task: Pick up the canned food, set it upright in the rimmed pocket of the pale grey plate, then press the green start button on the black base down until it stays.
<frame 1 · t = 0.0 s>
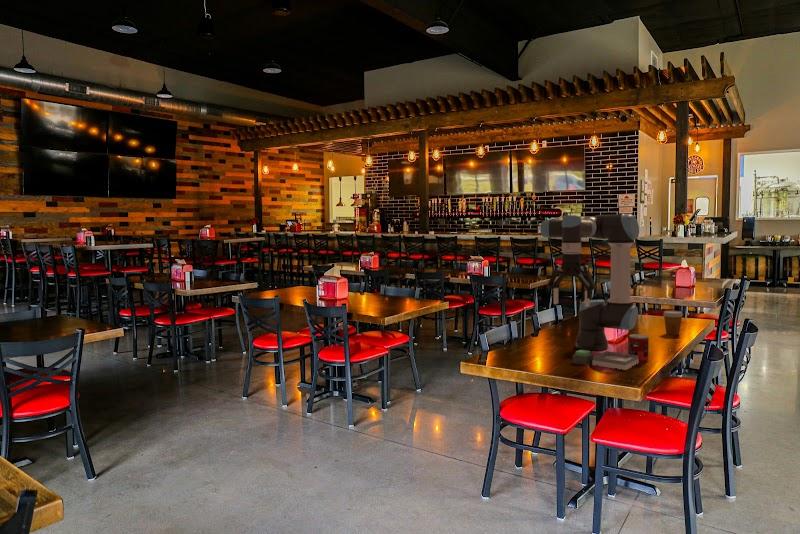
hand: (571, 305, 235), 28 cm above the table, tool pointing down, fingers open, 13 cm apart
button base: (583, 362, 253), on the table
disposable coffee cup: (672, 334, 310), on the table
pocket plate: (615, 364, 249), on the table
canned food: (638, 360, 255), on the table
start button: (583, 354, 253), point 3 cm above the table, slide at 0.0 cm
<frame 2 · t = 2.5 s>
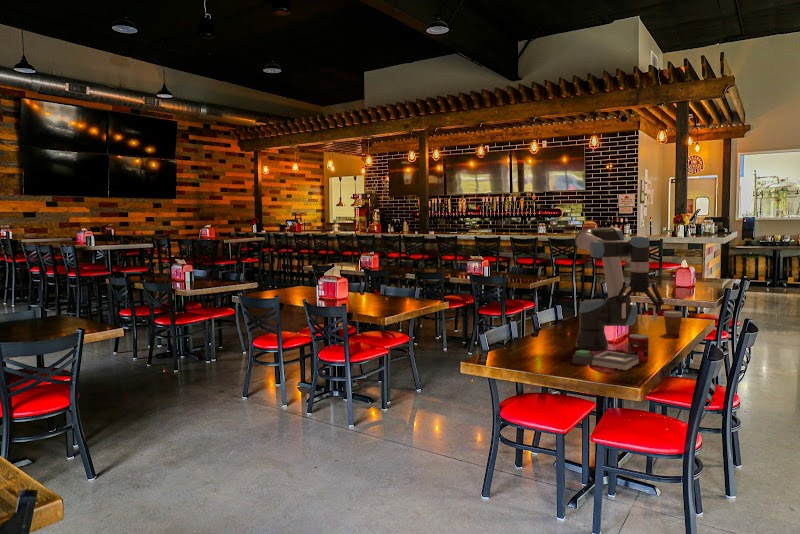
hand: (639, 319, 254), 18 cm above the table, tool pointing down, fingers open, 13 cm apart
nothing on the table moved.
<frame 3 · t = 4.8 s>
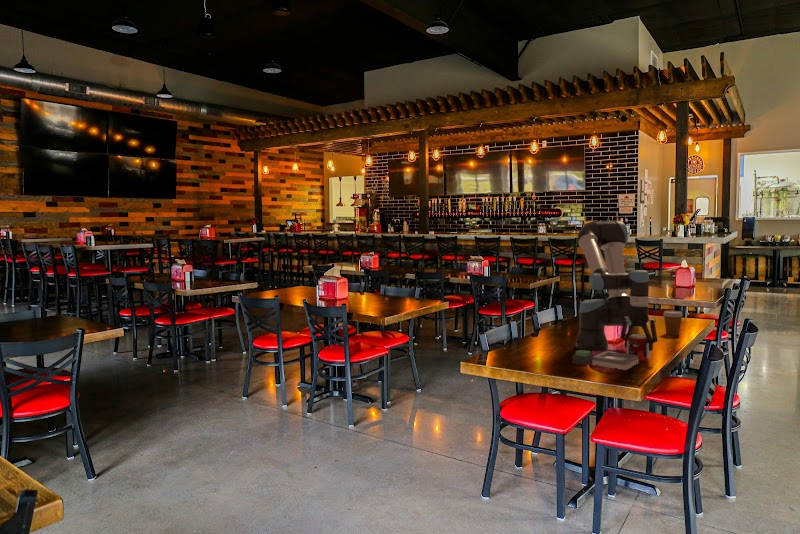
hand: (638, 356, 255), 2 cm above the table, tool pointing down, fingers closed on canned food, 8 cm apart
canned food: (638, 360, 255), on the table, touching gripper
everything else where it was.
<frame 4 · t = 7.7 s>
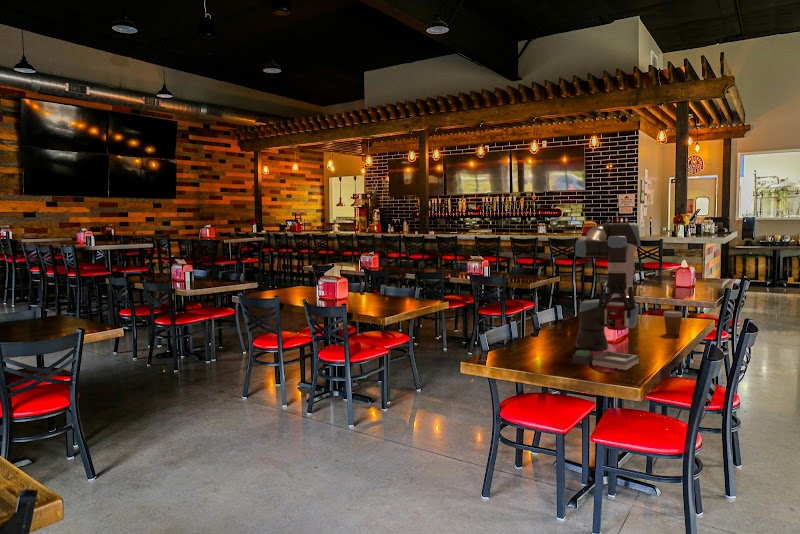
hand: (616, 324, 248), 17 cm above the table, tool pointing down, fingers closed on canned food, 8 cm apart
canned food: (616, 329, 248), point 15 cm above the table, touching gripper
everything else where it was.
when the fingers open (6 cm above the table, at t = 10.7 s): canned food drops 2 cm, resting on pocket plate.
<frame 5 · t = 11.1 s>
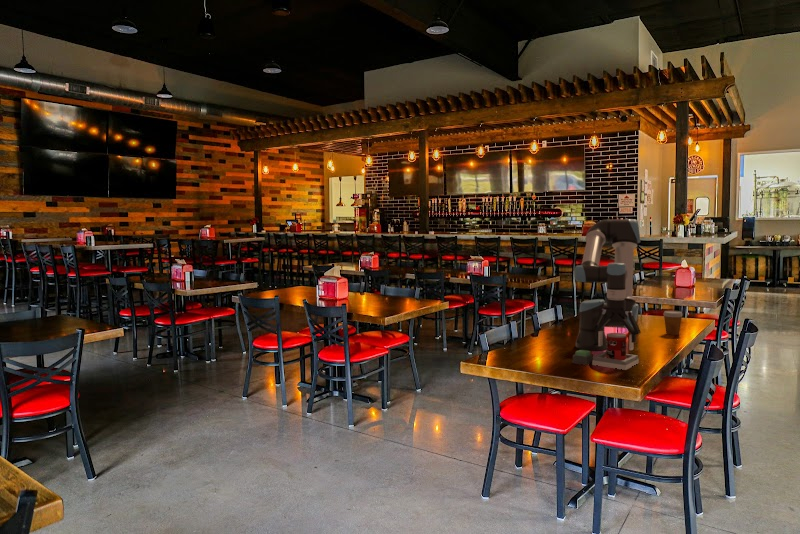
hand: (615, 347, 249), 7 cm above the table, tool pointing down, fingers open, 13 cm apart
canned food: (615, 360, 249), point 2 cm above the table, touching pocket plate
everything else where it was.
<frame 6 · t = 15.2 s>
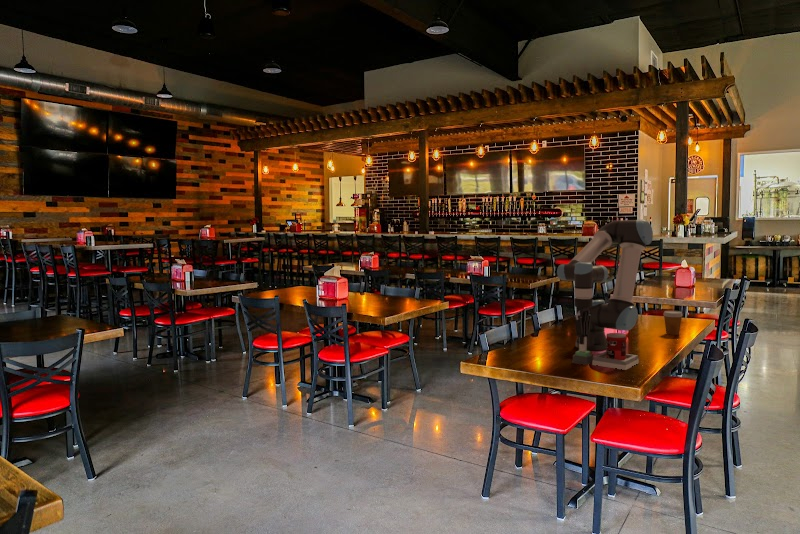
hand: (582, 351, 252), 5 cm above the table, tool pointing down, fingers closed
start button: (583, 355, 253), point 3 cm above the table, slide at 0.1 cm, touching gripper
everything else where it was.
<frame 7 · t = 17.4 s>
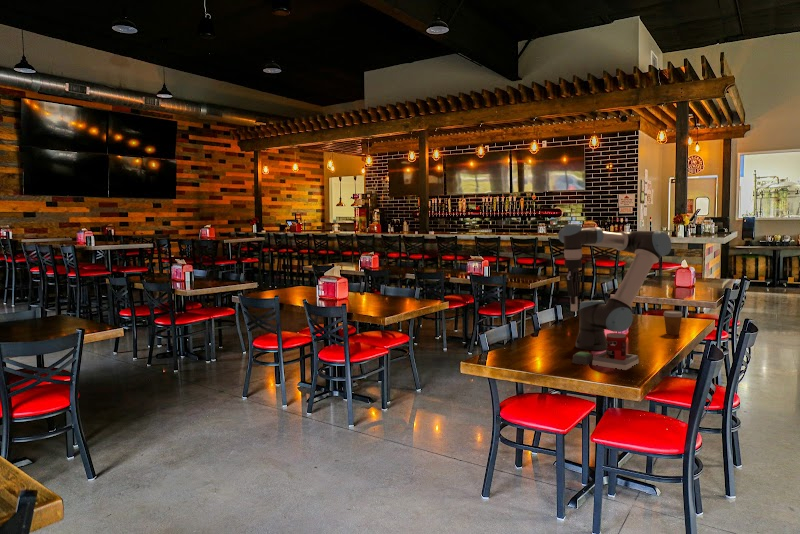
hand: (574, 310, 259), 22 cm above the table, tool pointing down, fingers closed
start button: (583, 356, 253), point 3 cm above the table, slide at 0.8 cm
everything else where it was.
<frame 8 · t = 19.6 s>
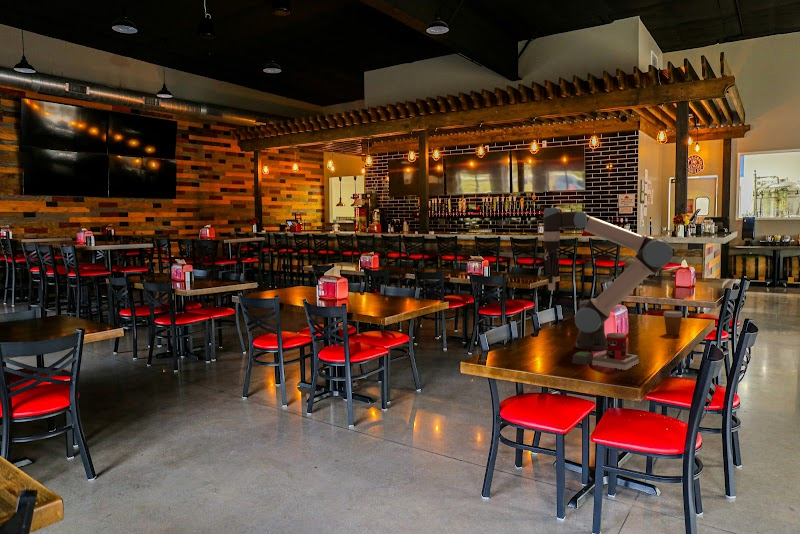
hand: (551, 289, 275), 29 cm above the table, tool pointing down, fingers closed
nothing on the table moved.
at the end: canned food 0.2 cm off-centre on the pocket plate, point 1.8 cm above the pocket plate's base; canned food tilted 0°; start button slide at 0.8 cm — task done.
